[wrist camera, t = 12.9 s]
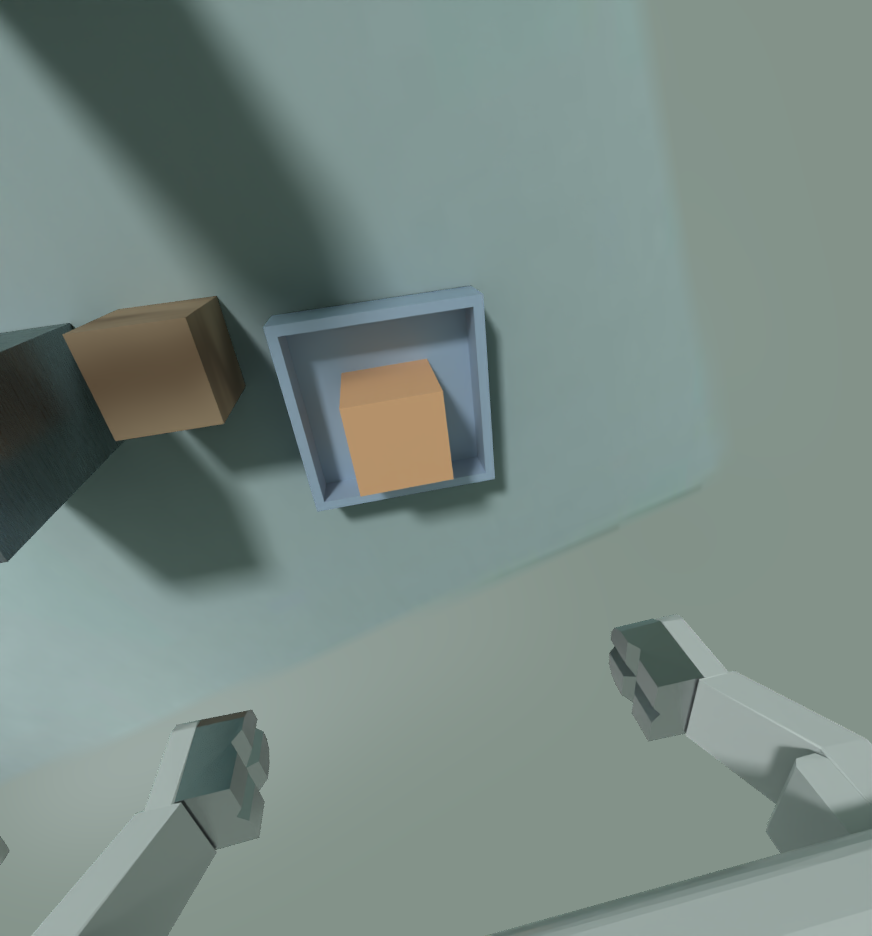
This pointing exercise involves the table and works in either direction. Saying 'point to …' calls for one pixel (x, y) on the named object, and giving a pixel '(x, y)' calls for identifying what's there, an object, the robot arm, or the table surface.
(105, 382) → the walnut block
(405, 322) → the tray
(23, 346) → the box
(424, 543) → the table surface
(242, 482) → the table surface
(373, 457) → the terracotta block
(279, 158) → the table surface
